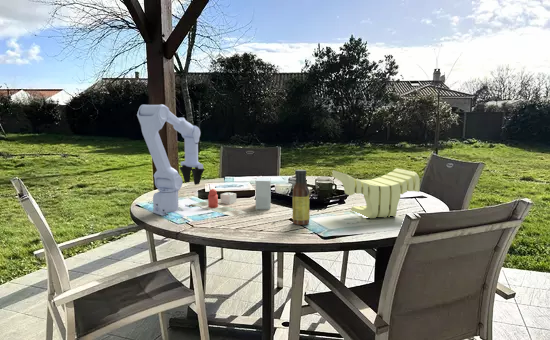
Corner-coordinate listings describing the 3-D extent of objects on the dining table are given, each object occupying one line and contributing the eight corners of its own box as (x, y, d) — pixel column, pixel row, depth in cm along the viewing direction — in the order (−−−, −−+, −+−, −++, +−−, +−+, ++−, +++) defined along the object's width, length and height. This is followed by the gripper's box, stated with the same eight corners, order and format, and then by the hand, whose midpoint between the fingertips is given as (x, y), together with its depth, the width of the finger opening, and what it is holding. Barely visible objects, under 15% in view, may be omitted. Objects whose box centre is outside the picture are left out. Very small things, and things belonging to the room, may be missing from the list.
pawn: (212, 208, 153) (211, 190, 152) (206, 206, 156) (206, 189, 155) (219, 206, 156) (219, 189, 155) (214, 204, 159) (213, 187, 158)
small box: (256, 207, 161) (256, 177, 159) (270, 207, 161) (270, 177, 159) (255, 211, 153) (255, 180, 151) (270, 211, 153) (270, 180, 151)
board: (230, 219, 141) (230, 216, 141) (189, 206, 160) (189, 204, 160) (249, 214, 148) (249, 212, 148) (208, 203, 167) (208, 201, 167)
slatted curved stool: (348, 222, 138) (350, 175, 136) (331, 212, 153) (332, 169, 151) (417, 217, 146) (420, 173, 144) (394, 208, 161) (396, 168, 159)
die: (229, 206, 161) (229, 195, 161) (220, 205, 164) (220, 194, 163) (236, 204, 166) (236, 193, 165) (227, 203, 168) (227, 192, 167)
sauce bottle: (312, 224, 135) (314, 170, 132) (298, 226, 132) (299, 171, 129) (302, 220, 140) (303, 168, 138) (288, 222, 137) (289, 169, 135)
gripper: (208, 153, 160) (209, 184, 162) (189, 151, 170) (190, 180, 172) (195, 154, 155) (195, 186, 157) (176, 152, 165) (177, 182, 167)
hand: (192, 183), depth 164 cm, fingers open, 7 cm apart
